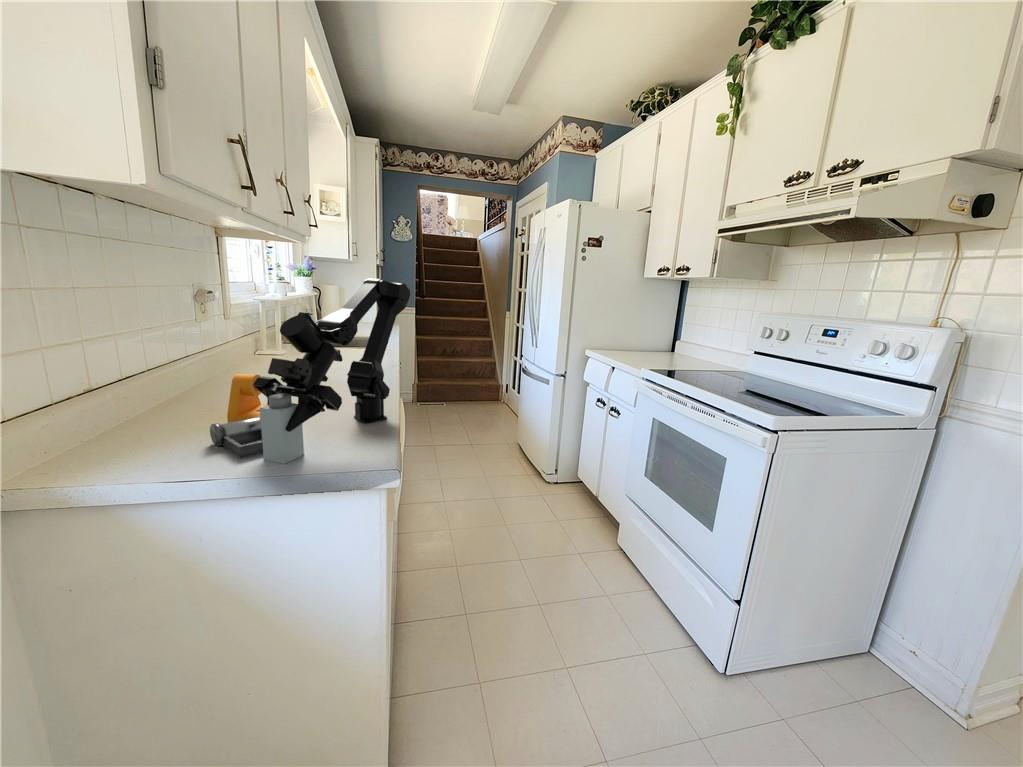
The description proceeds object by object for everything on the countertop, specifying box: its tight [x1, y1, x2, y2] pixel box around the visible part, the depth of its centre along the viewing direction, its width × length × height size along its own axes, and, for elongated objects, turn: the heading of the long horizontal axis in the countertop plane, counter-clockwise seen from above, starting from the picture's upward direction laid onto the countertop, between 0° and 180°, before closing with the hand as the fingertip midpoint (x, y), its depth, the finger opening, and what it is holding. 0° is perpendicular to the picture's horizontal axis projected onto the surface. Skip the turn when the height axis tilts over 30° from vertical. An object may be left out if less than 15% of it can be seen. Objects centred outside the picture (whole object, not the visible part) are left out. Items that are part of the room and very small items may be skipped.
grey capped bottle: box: [259, 394, 305, 465], centre depth 86 cm, size 5×5×13 cm
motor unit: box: [209, 417, 263, 460], centre depth 93 cm, size 13×13×5 cm
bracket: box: [226, 373, 267, 423], centre depth 106 cm, size 11×7×12 cm, turn 1°
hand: (276, 428), depth 84 cm, fingers closed on grey capped bottle, 5 cm apart
